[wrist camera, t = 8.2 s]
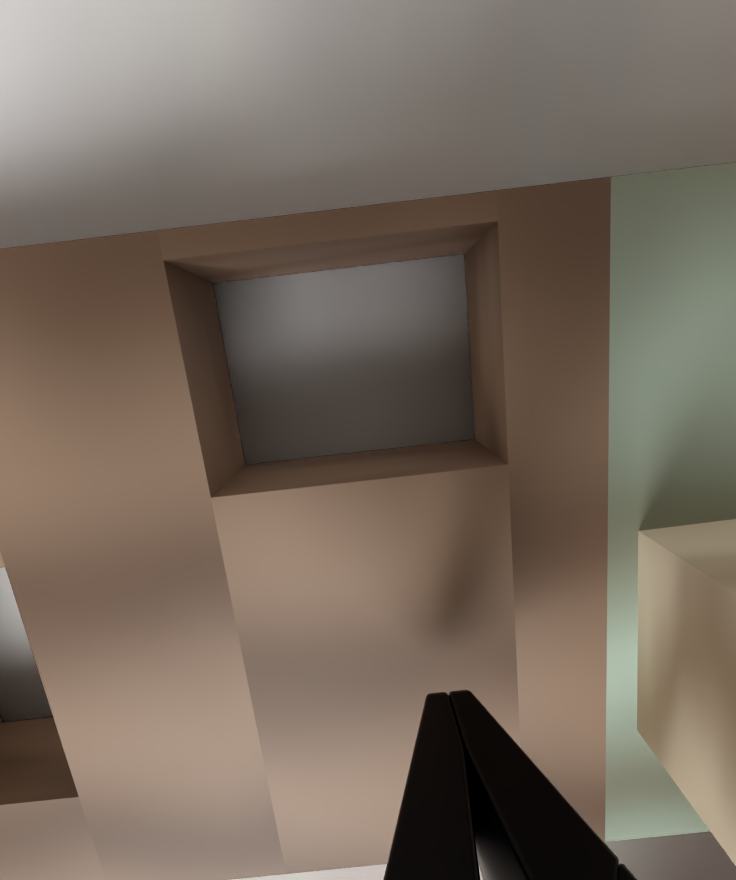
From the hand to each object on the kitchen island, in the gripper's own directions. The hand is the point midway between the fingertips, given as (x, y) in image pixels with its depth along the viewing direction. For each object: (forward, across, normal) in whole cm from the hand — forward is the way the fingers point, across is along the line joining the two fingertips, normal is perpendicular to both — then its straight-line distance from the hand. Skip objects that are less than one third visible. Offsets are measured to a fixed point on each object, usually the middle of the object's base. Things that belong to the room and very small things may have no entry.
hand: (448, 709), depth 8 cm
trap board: (+4, +1, -2) cm, 4 cm away
